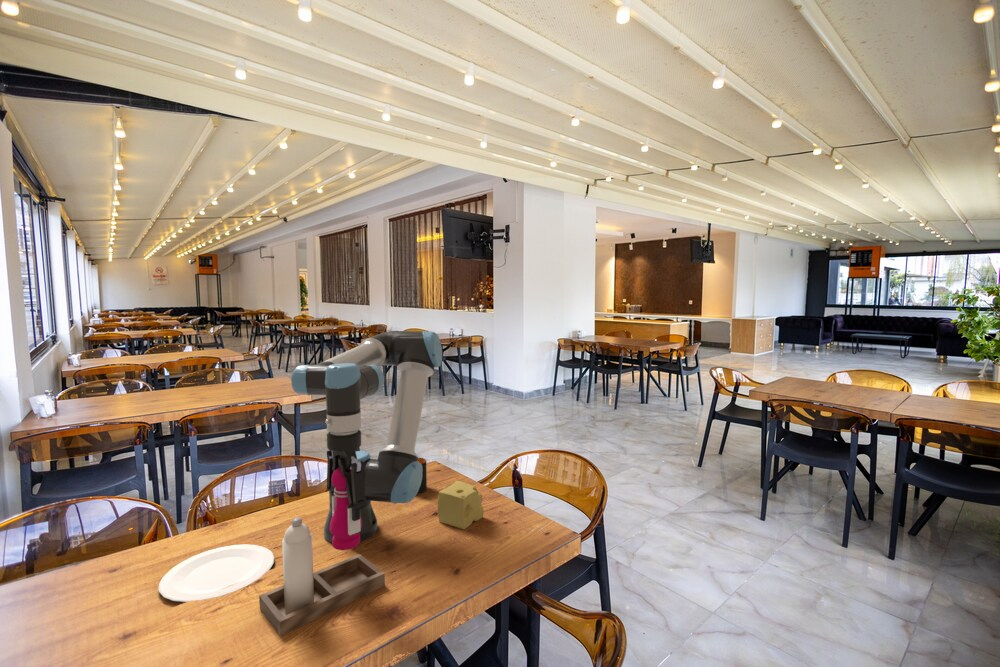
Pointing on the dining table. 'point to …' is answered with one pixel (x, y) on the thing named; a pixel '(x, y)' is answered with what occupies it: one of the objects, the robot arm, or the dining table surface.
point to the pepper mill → (342, 516)
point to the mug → (424, 477)
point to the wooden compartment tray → (324, 593)
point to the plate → (216, 573)
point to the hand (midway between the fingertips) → (346, 526)
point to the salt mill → (297, 566)
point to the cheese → (460, 505)
